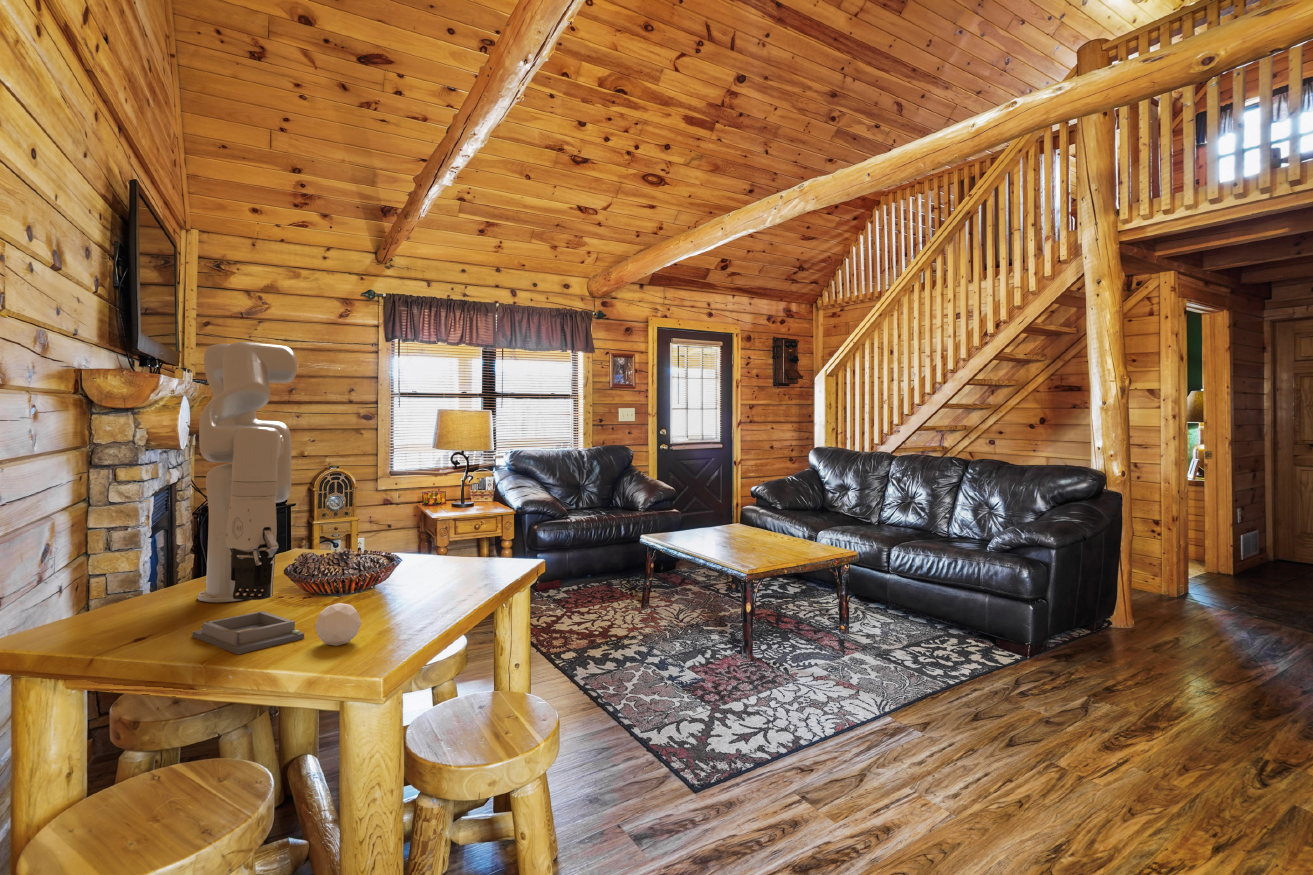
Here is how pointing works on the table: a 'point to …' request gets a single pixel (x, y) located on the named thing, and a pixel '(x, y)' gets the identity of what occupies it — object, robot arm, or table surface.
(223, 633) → the charging dock
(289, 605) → the table surface
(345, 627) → the geometric ball
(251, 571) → the battery charger
